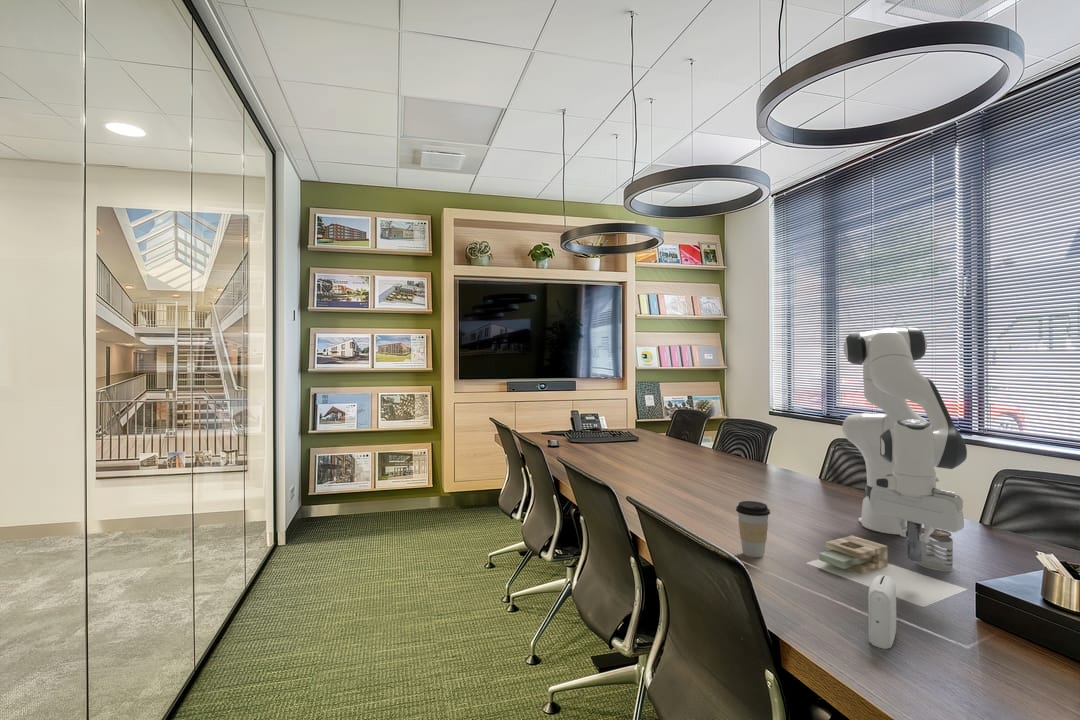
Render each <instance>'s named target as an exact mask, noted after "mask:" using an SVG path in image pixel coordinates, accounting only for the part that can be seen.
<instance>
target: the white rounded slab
mask: <svg viewBox="0 0 1080 720" xmlns="http://www.w3.org/2000/svg"><path fill="white" fill-rule="evenodd" d="M867 599H868V640H869V643H871V645H872V646H874V647H875V648H879V649H884V650H888V649H891V648H892V646H893V644H894V641H895V637H896V633H897V597H896V585H895V583H894V581H893V580H892V579H891V578H890V577H888V576H883V575H878V576H876V577H875V578H874V579H873V580H872V582H871V584H870V587H869V588H868V598H867Z"/></svg>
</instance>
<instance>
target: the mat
mask: <svg viewBox="0 0 1080 720" xmlns="http://www.w3.org/2000/svg"><path fill="white" fill-rule="evenodd" d="M806 565H809V566H812V567H815V568H818V569H820V570H822V571H825V572H828V573H830V574H834V575H836V576H839V577H841V578H844V579H846V580H850V581H852V582H855V583H858V584H860V585H862V586H866V587H870V584H871V582H872V580H873V579H874V578H875V577H876V576H878V575H883V576H888V577H890V578H891V579H892V580H893V581H894V583H895V585H896V599H900V600H902V601H905V602H908V603H910V604H913V605H915V606H919V607H921V608H925V607H927V606H931V605H932V604H935V603H938V602H940V601H942V600H946V599H948V598H950V597H953V596H956V595H957V594H960V593H963V592H966V591H968V590H969V589H968V588H965V587H961V586H958V585H955V584H952V583H950V582H947V581H943V580H941V579H937V578H934V577H931V576H928V575H924V574H922V573H919V572H916V571H912V570H910V569H907V568H903V567H900V566H897V565H895V564H891V563H888V562H887V566H885V567H882V568H879V569H876V570H873V571H869V572H866V573H863V574H859V573H857V572H854V571H851V570H848V569H843V568H840V567H837V566H834V565H832V564H829V563H826V562H823V561H821V560H819V558H818V559H815V560H811V561H808V562H806Z"/></svg>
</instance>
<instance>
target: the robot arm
mask: <svg viewBox="0 0 1080 720" xmlns="http://www.w3.org/2000/svg"><path fill="white" fill-rule="evenodd" d="M927 348H928V340H927V338H926V335H925V334H924V332H923V331H922V330H921V329H920V328H917V327H906V328H904V327H902V328H900V327H899V328H895V327H893V328H882V329H876V330H875V329H874V330H867V331H864V332H859V331H858V332H854V333H850V334H849V335H847V336H846V337H845V341H844V343H843V347H842V349H843V353H844V356H845V358H846V359H847V362H849V363H850V364H852V365H863V368H862V375H863V377H862V378H863V393H864V398H865V400H866V401H867V402H868V403H870V404H871V405H872V406H874V407H877V408H879V409H881V410H882V411H883V412H884V413H885V414H884V413H866V412H864V413H863V412H862V413H861V412H860V413H853V414H849V415H848V416H847V417H845V418H844V419H843V422H842V426H841V427H842V433H843V435H844V437H845V439H847V441H848V442H849V443H851V444H853V445H854V446H855V447H856V448H857V450H858V451H860V453H861V455H862V457H863V460H864V462H865V469H866V484H865V488H864V489H865V495H866V496H865V497H864V498H863V500H862V504H861V505H862V507H861V517H858V522H859V523H861V525H862V527H864V528H866V529H868V530H872V531H873V532H879V533H883V534H891V535H900V536H901V537H903V538H907V528H906V527H907V521H911V522H915V523H919V524H922V528H924V529H926V531H925V533H922V534H919V541H921V542H925V543H928V542H929V539H930V537H929V535H930V534H931V533H932V532H933V531H934V529H936V528H937V529H940V530H945V531H948V532H949V533H958V532H960V531H962V530H963V529H964V528H965V520H964V519H965V518H964V513H963V508H964V501H963V499H962V497H961V496H960V495H958V494H956V493H957V492H954V491H948V490H944V489H939V488H937V482H936V477H937V475H936V474H937V473H936V469H935V467H936V468H939V469H948V470H953V469H955V468H958V467H959V466H960V465H962V464H963V463H964V462H966V460H967V455H968V451H967V450H968V449H967V446H966V442H965V440H964V438H963V436H962V435H961V433H960V431H959V430H958V429H957V427H956V425H955V424H954V421H953V419H952V417H951V414H950V413H949V410H948V409H947V407H946V405H945V402H944V400H943V398H942V396H941V393H940V392H939V390H938V388H937V386H936V385H935V383H934V382H933V380H932V379H929V378H927V377H925V376H924V375H923V374H922V373H921V372H920V371H919V370H918V369H917V368H916V366H915V363H914V361H918V360H921V359H922V358H923V357H924V356H925V355H926V352H927ZM907 400H908V401H909V402H913V403H915V404H917V405H918V406H920V407H921V408H922V409H923V411H924V412H925V414H926V417H927V419H928V420H927V419H926V418H924V417H922V416H921V415H919V414H918V413H917V412H915V411H914V410H913V409H912V407H911V406H910V404H909V403H908V401H907Z"/></svg>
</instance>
